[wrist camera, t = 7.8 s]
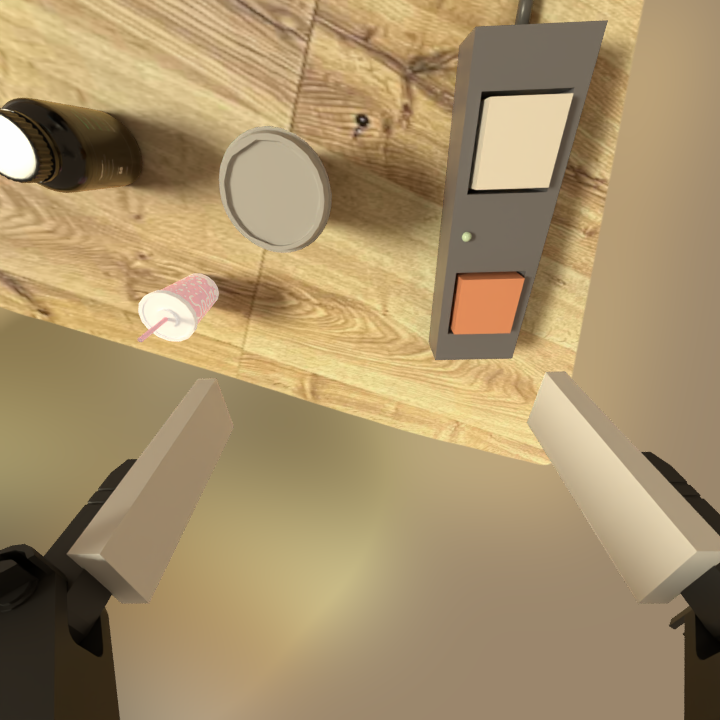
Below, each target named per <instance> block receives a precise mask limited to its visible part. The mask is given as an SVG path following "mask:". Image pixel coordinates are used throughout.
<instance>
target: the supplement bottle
mask: <svg viewBox="0 0 720 720" xmlns="http://www.w3.org/2000/svg"><path fill="white" fill-rule="evenodd" d="M141 168H142V158H141V153H140V149H139V147H138V145H137V142H136V141H135V139H134V137H133V136H132V134H131V133H130V131H129V130H128V129H127V128H126V127H125V126H124V125H123V124H122V123H121V122H120V121H119V120H117V119H116V118H114V117H113V116H111V115H109V114H107V113H105V112H102V111H98V110H94V109H89V108H83V107H77V106H72V105H66V104H60V103H55V102H49V101H43V100H38V99H32V98H17V99H13V100H11V101H9V102H7V103H6V104H5V105H4V106H3V107H2V108H0V174H1V175H2V176H5V177H6V178H8V179H12V180H13V181H15V182H21V183H38V184H40V185H42V186H44V187H46V188H48V189H51V190H54V191H57V192H64V193H71V192H81V191H89V190H97V189H106V188H114V187H121V186H126V185H130V184H132V183H133V182H134V181H135V180H137V178H138V177H139V175H140V173H141Z"/></svg>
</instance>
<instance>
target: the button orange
mask: <svg viewBox="0 0 720 720" xmlns="http://www.w3.org/2000/svg"><path fill="white" fill-rule="evenodd" d="M524 279H525V278H523V277H522V276H521V275H520V274H518V273H517V272H516V271H509V272H473V273H456V278H455V285H454V292H453V299H452V306H451V313H450V320H449V326H450V328H451V330H452V332H453V334H497V333H510V332H511V328H512V325H513V321H514V317H515V313H516V310H517V306H518V302H519V298H520V294H521V291H522V287H523V283H524Z"/></svg>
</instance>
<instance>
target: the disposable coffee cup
mask: <svg viewBox="0 0 720 720" xmlns="http://www.w3.org/2000/svg"><path fill="white" fill-rule="evenodd" d="M219 186H220V194H221V200H222V203H223V206H224V208H225V211H226V214H227V215H228V217H229V219H230V220H231V222H232V223H233V225H234V226H235V227H236V229H237V230H238V231H239V232H240V233H241V234H242V235H243V236H244V237H246V238H247V239H248V240H250V241H251V242H252V243H254V244H256V245H257V246H259V247H261V248H264V249H266V250H269V251H273V252H281V253H285V252H294V251H297V250H301V249H303V248H305V247H306V246H308V245H310V244H311V243H312V242H314V241H315V240H316V239H317V238H318V236H319V235H320V234H321V233H322V231H323V230H324V228H325V226H326V224H327V221H328V219H329V216H330V210H331V198H332V193H331V188H330V183H329V177H328V175H327V172H326V170H325V167H324V165H323V163H322V161H321V160H320V158H319V156H318V155H317V153H316V152H315V151H314V150H313V149H312V148H311V147H310V146H309V145H308V143H307V142H305V141H304V140H303V139H301V138H300V137H298V136H297V135H296V134H294V133H292V132H289V131H287V130H285V129H282V128H278V127H271V126H264V127H256V128H253V129H250V130H247V131H246V132H244V133H242V134H241V135H239V136H238V137H237V138H236V139H235V140H234V141H233V142H232V143H231V144H230V146H229V147H228V148H227V150H226V152H225V154H224V156H223V159H222V163H221V166H220V174H219Z"/></svg>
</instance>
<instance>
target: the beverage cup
mask: <svg viewBox="0 0 720 720" xmlns="http://www.w3.org/2000/svg"><path fill="white" fill-rule="evenodd" d="M218 296H219V291H218V287H217V286H216V284H215V282H214V281H213V280H212V279H210V278H209V277H208V276H206V275H203V274H197V273H194V274H192V275H189V276H187V277H185V278H183V279H181V280H179V281H177V282H175V283H174V284H172V285H170V286H168V287H166V288H164V289H162V290H157V291H154V292H151V293H149V294H147V295H145V296H144V297H143V298H142V300H141V301H140V302H139V310H138V312H139V315H140V318H141V320H142V322H143V324H144V325H145V326H146V327H147V328H148V331H147V332H145V333H144V334H143V335H142V336H140V337H139V338H138V341H139V342H143V341H144V340H145V339H146V338H147V337H149V336H150V335H151V334H152V333H154V334H155V335H156V336H158V337H160V338H162V339H165V340H168V341H182V340H185V339H188V338H189V337H190V336H191V335H192V334H193V333H194V331H195V330H196V328H197V324H198V323H199V322H200V321H201V319H202V318H203V317H204V316H205V314H206V313H207V312H208V311H209V309H210V308H211V307H212V306H213V304H214V303H215V302H216V301H217V300H218Z"/></svg>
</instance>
